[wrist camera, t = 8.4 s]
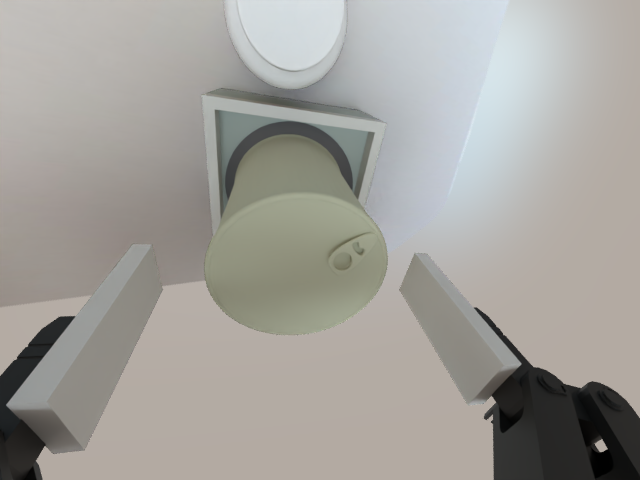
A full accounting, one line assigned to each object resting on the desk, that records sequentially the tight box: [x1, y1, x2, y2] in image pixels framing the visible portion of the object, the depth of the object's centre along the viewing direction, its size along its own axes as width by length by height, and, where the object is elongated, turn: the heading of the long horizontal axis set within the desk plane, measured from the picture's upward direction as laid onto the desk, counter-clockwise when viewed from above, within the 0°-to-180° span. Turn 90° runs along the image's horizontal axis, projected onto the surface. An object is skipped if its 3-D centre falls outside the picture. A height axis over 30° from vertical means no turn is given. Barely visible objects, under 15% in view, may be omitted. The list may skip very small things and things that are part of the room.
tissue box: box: [202, 88, 387, 236], centre depth 25 cm, size 13×13×8 cm
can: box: [204, 134, 388, 335], centre depth 17 cm, size 9×9×12 cm
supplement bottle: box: [224, 0, 347, 90], centre depth 16 cm, size 7×7×13 cm
